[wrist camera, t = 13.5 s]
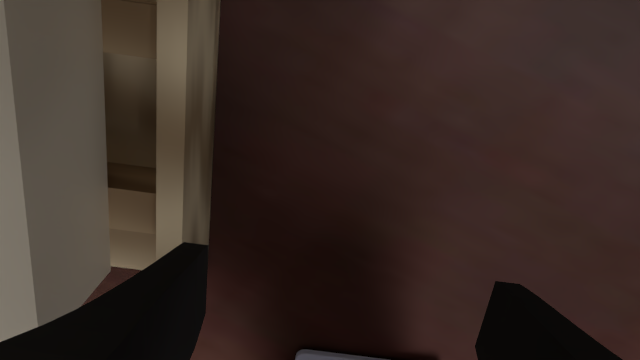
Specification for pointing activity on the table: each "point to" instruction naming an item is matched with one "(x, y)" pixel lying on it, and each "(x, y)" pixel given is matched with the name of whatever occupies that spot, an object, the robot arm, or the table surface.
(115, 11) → the wooden compartment tray
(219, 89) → the table surface
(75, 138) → the grayish beige rectangular block
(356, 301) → the table surface
